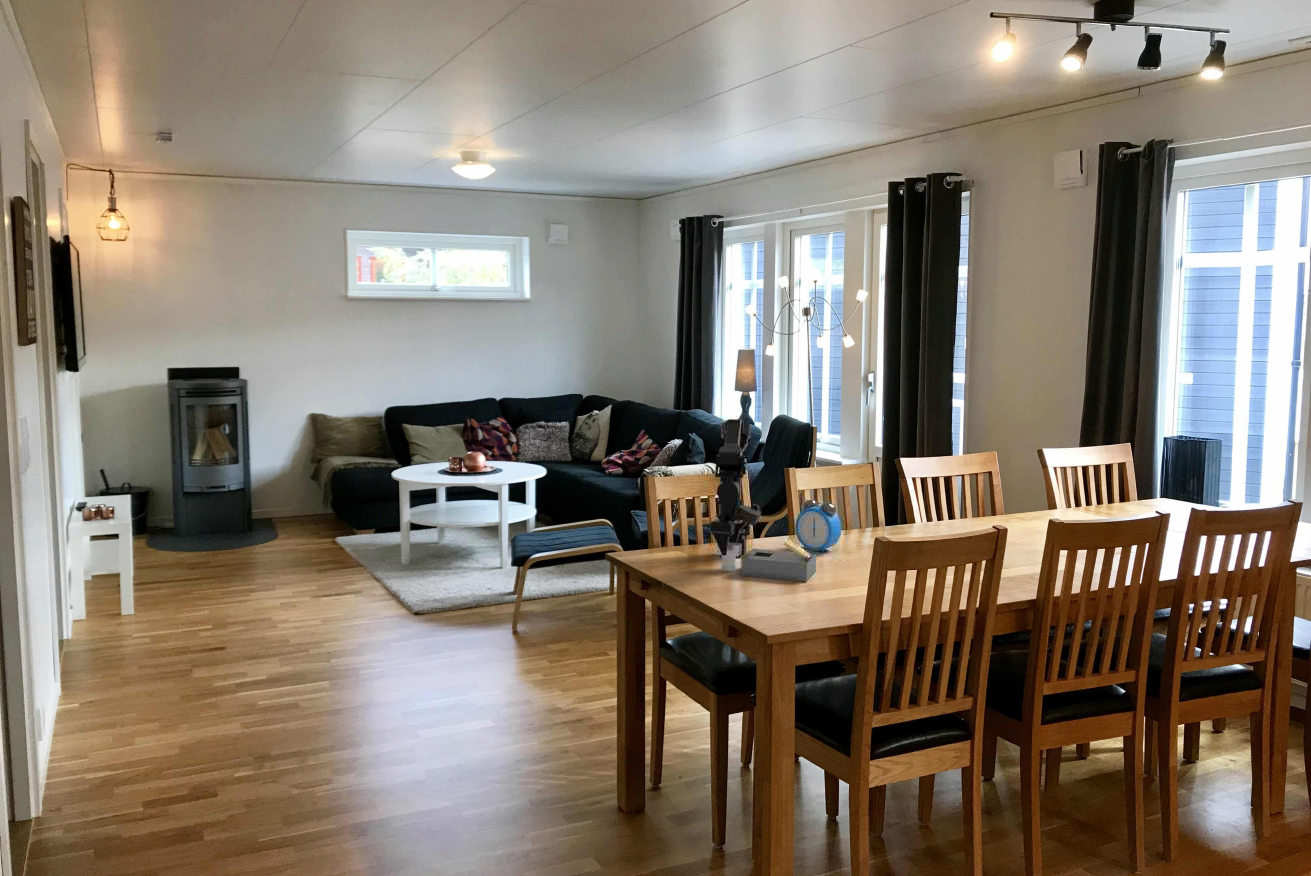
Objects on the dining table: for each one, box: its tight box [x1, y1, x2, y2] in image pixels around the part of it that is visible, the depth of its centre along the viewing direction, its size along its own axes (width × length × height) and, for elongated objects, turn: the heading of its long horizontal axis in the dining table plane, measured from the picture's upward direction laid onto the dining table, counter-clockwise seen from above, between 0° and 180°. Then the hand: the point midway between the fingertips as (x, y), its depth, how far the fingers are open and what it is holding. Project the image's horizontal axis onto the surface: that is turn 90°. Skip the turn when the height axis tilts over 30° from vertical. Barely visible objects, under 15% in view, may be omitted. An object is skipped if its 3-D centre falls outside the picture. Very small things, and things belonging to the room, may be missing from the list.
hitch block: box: [740, 548, 817, 583], centre depth 283 cm, size 18×12×5 cm, turn 70°
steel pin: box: [715, 542, 742, 573], centre depth 287 cm, size 6×3×8 cm, turn 70°
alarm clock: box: [794, 499, 842, 554], centre depth 312 cm, size 13×6×15 cm, turn 48°
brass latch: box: [783, 539, 812, 560], centre depth 281 cm, size 8×4×1 cm
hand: (729, 551), depth 287 cm, fingers open, 9 cm apart
